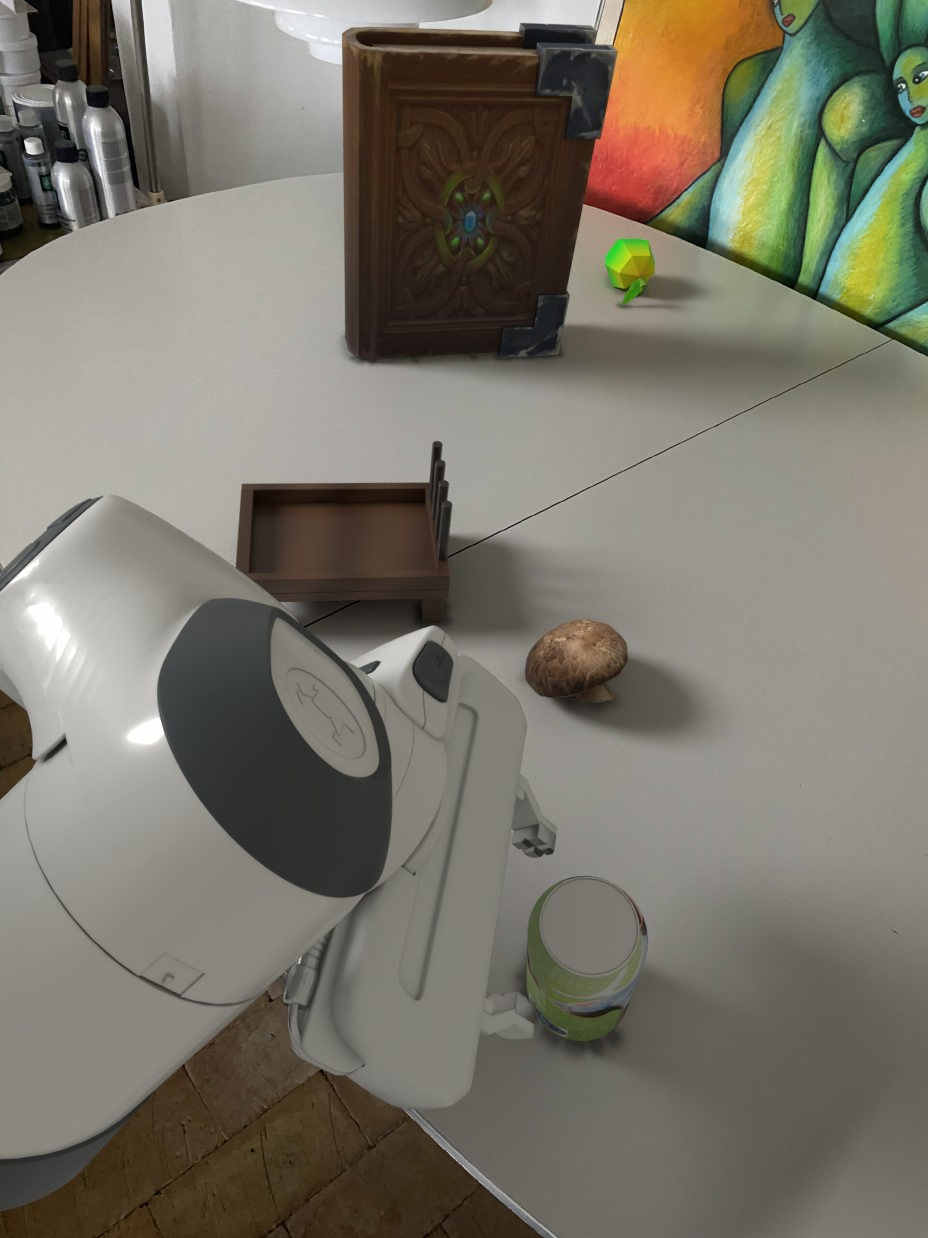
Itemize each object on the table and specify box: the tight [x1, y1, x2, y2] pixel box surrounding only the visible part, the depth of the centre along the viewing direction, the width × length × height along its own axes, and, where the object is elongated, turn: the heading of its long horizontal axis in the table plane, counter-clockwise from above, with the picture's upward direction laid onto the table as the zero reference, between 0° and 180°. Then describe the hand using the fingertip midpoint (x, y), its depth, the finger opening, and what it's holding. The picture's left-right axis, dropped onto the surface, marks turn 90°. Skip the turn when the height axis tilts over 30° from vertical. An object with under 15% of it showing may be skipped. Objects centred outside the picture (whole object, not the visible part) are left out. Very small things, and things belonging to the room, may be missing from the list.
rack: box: [235, 440, 453, 623], centre depth 69 cm, size 16×11×11 cm
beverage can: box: [526, 875, 649, 1042], centre depth 47 cm, size 6×7×12 cm
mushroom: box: [524, 618, 629, 704], centre depth 65 cm, size 8×8×6 cm
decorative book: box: [341, 22, 619, 360], centre depth 87 cm, size 23×7×30 cm, turn 104°
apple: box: [604, 238, 656, 307], centre depth 108 cm, size 7×6×9 cm
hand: (535, 927), depth 44 cm, fingers open, 8 cm apart
